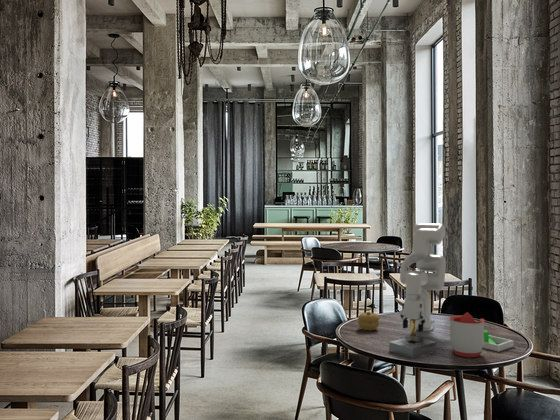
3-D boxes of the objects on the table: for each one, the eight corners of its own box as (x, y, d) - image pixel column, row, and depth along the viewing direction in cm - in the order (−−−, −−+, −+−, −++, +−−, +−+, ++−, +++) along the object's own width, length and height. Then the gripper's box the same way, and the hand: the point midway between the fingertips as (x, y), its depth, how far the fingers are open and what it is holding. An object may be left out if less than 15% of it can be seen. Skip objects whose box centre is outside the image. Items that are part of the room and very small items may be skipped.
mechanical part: (496, 348, 272) (497, 332, 271) (484, 347, 272) (484, 331, 271) (488, 341, 284) (488, 326, 283) (476, 341, 284) (476, 325, 283)
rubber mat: (411, 335, 293) (411, 334, 293) (426, 339, 285) (426, 338, 285) (399, 339, 287) (399, 338, 287) (414, 343, 279) (414, 342, 279)
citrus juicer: (493, 355, 259) (494, 313, 258) (469, 361, 250) (470, 317, 249) (466, 347, 272) (466, 307, 272) (442, 352, 263) (442, 311, 262)
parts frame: (476, 337, 289) (477, 332, 289) (513, 346, 274) (513, 340, 274) (461, 342, 280) (461, 336, 280) (498, 351, 265) (498, 345, 265)
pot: (376, 327, 312) (376, 309, 311) (381, 332, 300) (381, 314, 300) (356, 327, 311) (356, 309, 311) (359, 332, 300) (359, 314, 299)
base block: (412, 344, 276) (412, 335, 276) (436, 351, 265) (436, 341, 265) (389, 351, 265) (389, 341, 265) (412, 358, 254) (412, 348, 254)
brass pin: (412, 337, 288) (412, 318, 288) (417, 338, 286) (417, 319, 285) (408, 338, 286) (408, 319, 286) (413, 339, 284) (413, 320, 283)
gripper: (431, 298, 281) (431, 332, 281) (404, 293, 294) (404, 325, 294) (422, 300, 276) (422, 334, 276) (395, 295, 289) (395, 327, 290)
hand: (412, 329), depth 285 cm, fingers open, 9 cm apart
